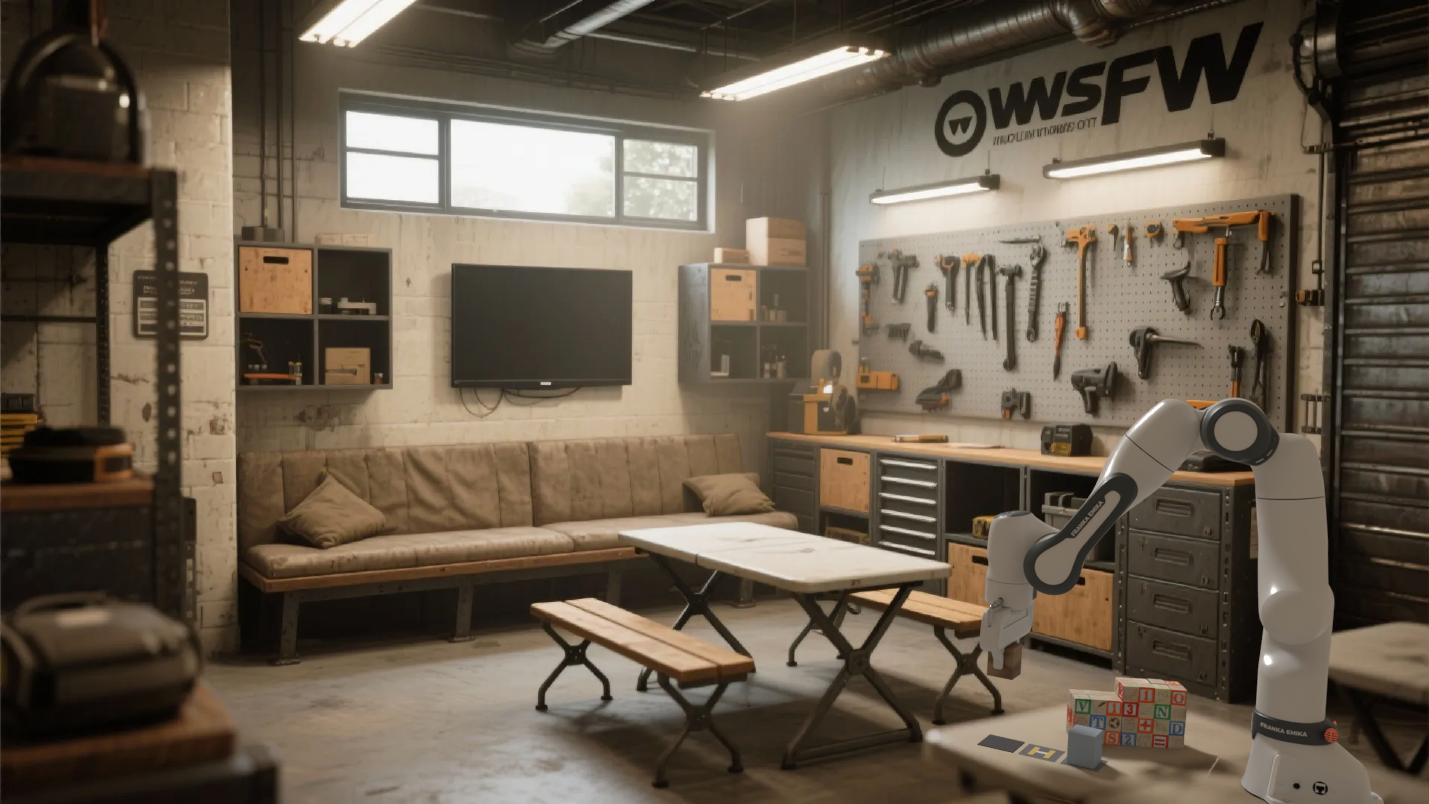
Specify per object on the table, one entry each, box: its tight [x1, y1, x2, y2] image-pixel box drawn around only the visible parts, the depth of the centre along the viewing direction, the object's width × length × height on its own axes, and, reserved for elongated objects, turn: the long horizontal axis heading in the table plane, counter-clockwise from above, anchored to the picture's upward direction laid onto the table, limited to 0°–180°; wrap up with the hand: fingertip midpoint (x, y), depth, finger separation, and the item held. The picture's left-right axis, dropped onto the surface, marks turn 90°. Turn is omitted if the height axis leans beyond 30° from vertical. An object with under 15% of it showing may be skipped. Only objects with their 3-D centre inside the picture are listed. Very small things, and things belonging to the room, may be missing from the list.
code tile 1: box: [1017, 743, 1066, 763], centre depth 224 cm, size 7×7×1 cm
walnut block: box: [986, 642, 1023, 681], centre depth 228 cm, size 5×5×6 cm
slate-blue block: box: [1066, 724, 1103, 769], centre depth 220 cm, size 5×5×6 cm
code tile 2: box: [1059, 756, 1108, 773], centre depth 220 cm, size 7×7×1 cm
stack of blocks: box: [1065, 676, 1188, 750], centre depth 232 cm, size 21×6×12 cm, turn 85°
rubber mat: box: [976, 734, 1025, 754], centre depth 229 cm, size 7×7×1 cm
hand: (1004, 664), depth 228 cm, fingers closed on walnut block, 5 cm apart
